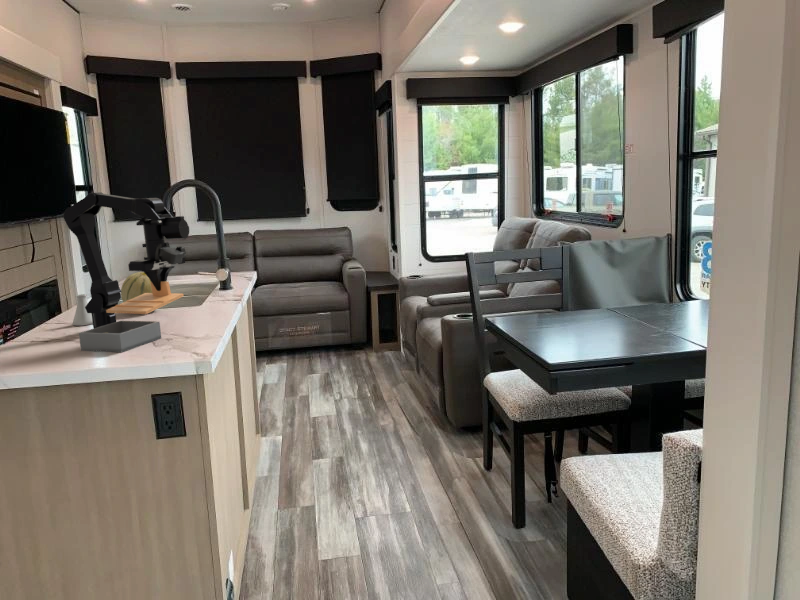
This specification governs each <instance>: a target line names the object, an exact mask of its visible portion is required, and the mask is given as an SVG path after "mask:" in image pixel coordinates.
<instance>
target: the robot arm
mask: <svg viewBox="0 0 800 600" xmlns="http://www.w3.org/2000/svg"><path fill="white" fill-rule="evenodd" d="M102 207H103V208H107V209H108V208H110V209H116V210H122V211H127V212H131V213H132V214H134V215H136V216H139V217H140V218H139V220H138V221H137V222H136V224H135V225H136V226H143V235H144V242H145V243H142V248H145V251H146V253H145V254H146V256H145V257H143V259H138V260H131V261H129V262H128V271H129V272H144V273H145V274H146V275H147V276H148V278H149V279H150V280H151V282H152V283H153V285H154V287H155V288H156V290H157V291H160V290H161V281H168V276H169V273H170V272H171V271H172V269H174V268H175V265H176V264H178V265H182V264H183V265H184V264H186V259H185V258H186V257H187V255H186V248H185V247H184V246H181V245H180V246H177V247H176V248H175V247H171V246H170V243H169V242H168V241H166V240H185V239H188V237H189V235H190V226H189V224H188V222H187V221H186V220H185V216H184V215H179V216H178V215H177V216H173V215H172V214H171V212H170V211H169V210H168V209H167V208H166V207H165V204H164V202H163V200H162V199H161V198H158V197H149V198H147V197H145V198H133V197H127V196H120V195H113V194H106V193H103V192H89V193H88V194H87V195H85V196H84V198H82V199H80V200H79V201H77V202H75V203H74V204H73V205H71V206H68V207H66V209H65V210H64V213H63V215H62V216H63V221H64V222H65V225H66V226H67V228H68V229H69V230H70V232H71V233H73V234H74V236H75V237H76V239H77V242H78V245H79V247H80V250H81V253H82V256H83V259H84V261H85V264H86V267H87V271H88V273H89V276H90V280H91V284H90V290H89V292H90V297H91V298H90V300H89V301H87V303H88V304H87V305H86V306H85V309H86V311H87V313H91V314H92V321H93V324H92V329H94V328H97V327H101V326H104V325H107V324H111V323H114V322H117V316H116V313H107V312H106V310H108V309H110V308H112V307H114V306H116V305H119V302H120V300H121V299H122V298H121V292H122V291H121V288H120V284H119V281H118V279H116V280H113V279H112V278H110V277H109V275H108V271H107V269H106V266H105V262H104V260H103V257H102V254H101V251H100V248H99V245H98V242H97V239H96V236H95V233H94V232H95V226H96V220H95V216H97V215H98V214H99V213H100V212H101V209H102Z"/></svg>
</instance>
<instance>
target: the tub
mask: <svg viewBox="0 0 800 600" xmlns="http://www.w3.org/2000/svg"><path fill="white" fill-rule="evenodd" d="M161 331H162V330H161V323H160V321H157V320H156V321H154V320H153V321H152V320H151V321H150V320H118V321H116V322H114V323H111V324H107V325H104V326H101V327H97V328H91V329H88V330H87V329H86V330H83V331H80V332H78V339H79V345H80V346H79V347H80V351H83V352H84V351H85V352H102V353H103V352H104V353H106V352H107V353H108V352H109V353H125V352H127V351H129V350H133V349H136V348H138V347H140V346H144V345H147V344H149V343H152V342H154V341H155V342H156V341H157V340H160V339H162V332H161Z"/></svg>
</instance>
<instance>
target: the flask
mask: <svg viewBox="0 0 800 600" xmlns="http://www.w3.org/2000/svg"><path fill="white" fill-rule="evenodd" d="M87 295H88V294H85V293H81V294H77V295H76V294H75V298H76V308H75V313H74V317H73V319H72V324H71V325H73V326H78V327H79V326H88V325H93V321H92V314H91V313H87V311H86V309H85V306H86V305H87V304H88V300H87Z"/></svg>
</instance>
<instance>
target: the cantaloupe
mask: <svg viewBox="0 0 800 600" xmlns="http://www.w3.org/2000/svg"><path fill="white" fill-rule="evenodd" d="M150 282H151V280H150V279H149V278H148V276H147V275H146V274H145V273H144V271H137V272H133V273H131V274H130V275H128V276H127V277H125V280H124V281H123V283H122V285H121V288H120V290H121V291H122V292H120V294H121V298H120V299H121V301H122V303H124V302H126V301H127V300H130V299H133V298H135V297H137V296H140V295H142V294H144V293H152V288H151V284H150Z"/></svg>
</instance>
